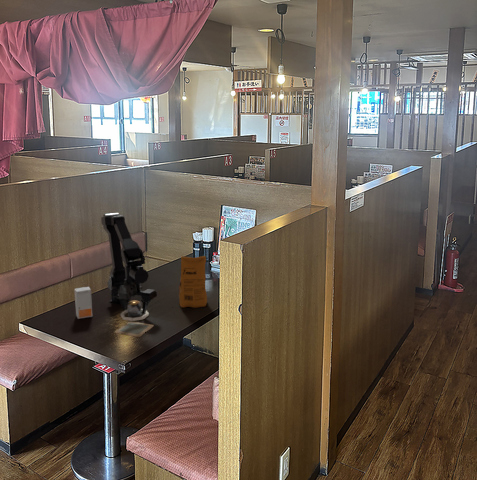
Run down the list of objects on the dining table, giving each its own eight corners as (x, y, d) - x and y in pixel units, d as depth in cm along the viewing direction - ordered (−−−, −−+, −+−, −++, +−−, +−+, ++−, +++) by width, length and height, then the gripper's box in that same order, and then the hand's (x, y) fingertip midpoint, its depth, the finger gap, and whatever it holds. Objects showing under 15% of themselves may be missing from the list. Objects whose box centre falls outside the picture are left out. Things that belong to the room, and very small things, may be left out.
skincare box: (78, 319, 209) (75, 291, 206) (76, 315, 213) (73, 288, 209) (93, 316, 212) (91, 289, 209) (90, 313, 215) (89, 286, 212)
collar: (116, 318, 210) (116, 316, 210) (130, 308, 220) (130, 307, 220) (139, 322, 206) (139, 320, 206) (152, 312, 216) (152, 310, 216)
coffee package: (180, 299, 231) (178, 252, 225) (207, 299, 231) (207, 253, 225) (177, 308, 221) (176, 259, 215) (206, 308, 221) (206, 259, 216)
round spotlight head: (124, 317, 211) (123, 304, 209) (133, 311, 217) (132, 298, 216) (136, 319, 209) (135, 306, 207) (145, 313, 216) (144, 300, 214)
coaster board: (114, 332, 197) (114, 331, 197) (129, 321, 207) (129, 320, 207) (139, 337, 193) (139, 336, 193) (153, 325, 203) (153, 324, 203)
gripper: (101, 279, 205) (104, 315, 208) (142, 285, 198) (144, 322, 202) (117, 271, 215) (119, 306, 219) (156, 276, 209) (158, 312, 213)
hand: (134, 311), depth 213 cm, fingers open, 9 cm apart
